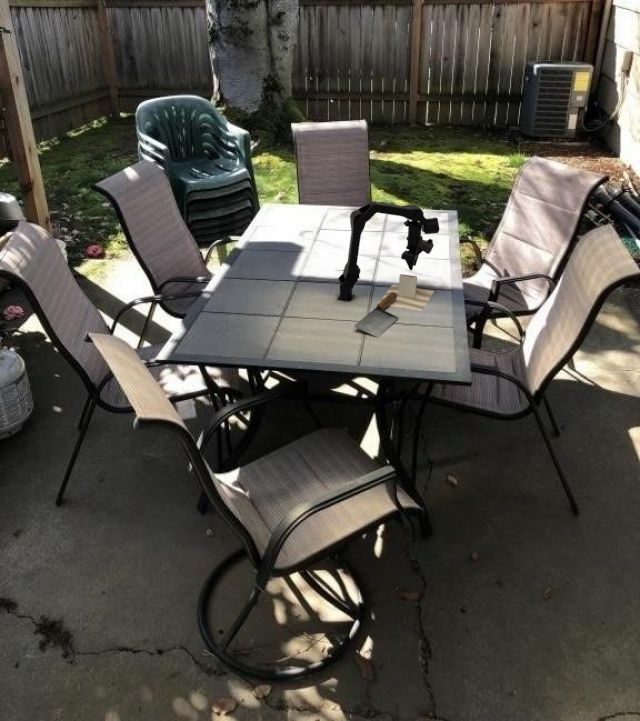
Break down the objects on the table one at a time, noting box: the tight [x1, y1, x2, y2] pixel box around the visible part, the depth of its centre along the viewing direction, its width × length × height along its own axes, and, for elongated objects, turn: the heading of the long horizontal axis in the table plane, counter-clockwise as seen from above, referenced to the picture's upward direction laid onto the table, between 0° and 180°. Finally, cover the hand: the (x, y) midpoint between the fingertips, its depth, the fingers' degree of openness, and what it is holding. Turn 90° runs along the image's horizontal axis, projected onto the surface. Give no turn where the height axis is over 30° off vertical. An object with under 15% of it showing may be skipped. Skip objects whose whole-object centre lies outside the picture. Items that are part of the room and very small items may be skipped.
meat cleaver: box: [354, 292, 399, 338], centre depth 278 cm, size 34×11×4 cm, turn 148°
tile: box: [398, 273, 418, 298], centre depth 292 cm, size 2×8×10 cm, turn 67°
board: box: [378, 284, 435, 312], centre depth 294 cm, size 22×20×1 cm
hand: (412, 267), depth 295 cm, fingers open, 5 cm apart
